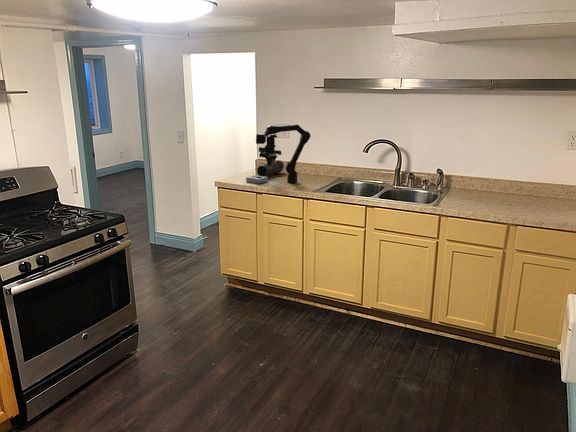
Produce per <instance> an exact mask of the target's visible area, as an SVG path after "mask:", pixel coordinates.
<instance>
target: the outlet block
mask: <svg viewBox="0 0 576 432" xmlns="http://www.w3.org/2000/svg"><path fill="white" fill-rule="evenodd" d="M245 178H246V179H245V182H246V183H250V184H256V185H261V184H263V183H267V182H269V179H268V178H269V176H267V177H264V176H259V175H258V174H257V175H255V174H254V175H251V176H247V177H245Z"/></svg>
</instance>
